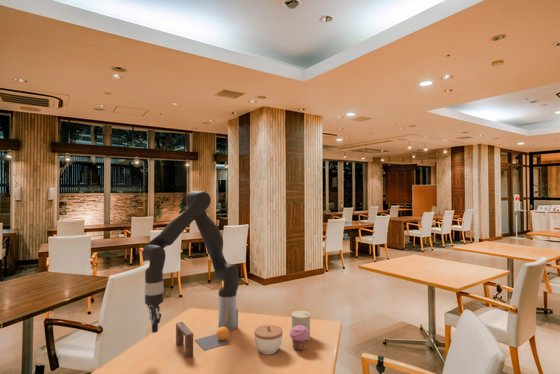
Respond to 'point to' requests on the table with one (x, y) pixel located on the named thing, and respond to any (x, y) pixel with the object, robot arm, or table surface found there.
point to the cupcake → (299, 336)
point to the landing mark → (210, 342)
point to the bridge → (185, 331)
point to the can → (301, 319)
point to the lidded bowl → (268, 338)
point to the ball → (222, 333)
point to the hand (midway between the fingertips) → (154, 331)
